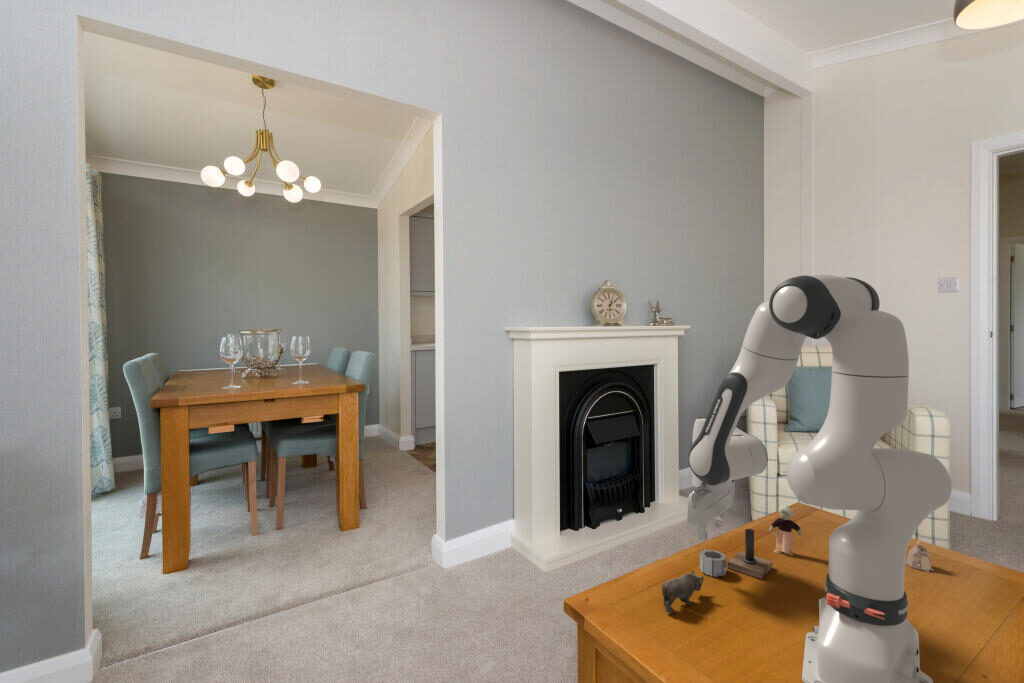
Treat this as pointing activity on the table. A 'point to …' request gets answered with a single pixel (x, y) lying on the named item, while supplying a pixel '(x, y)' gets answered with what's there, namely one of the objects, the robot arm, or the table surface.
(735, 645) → the table surface
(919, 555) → the mouse figurine
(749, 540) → the post block
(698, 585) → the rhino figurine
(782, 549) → the grandmother figurine
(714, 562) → the steel ring
